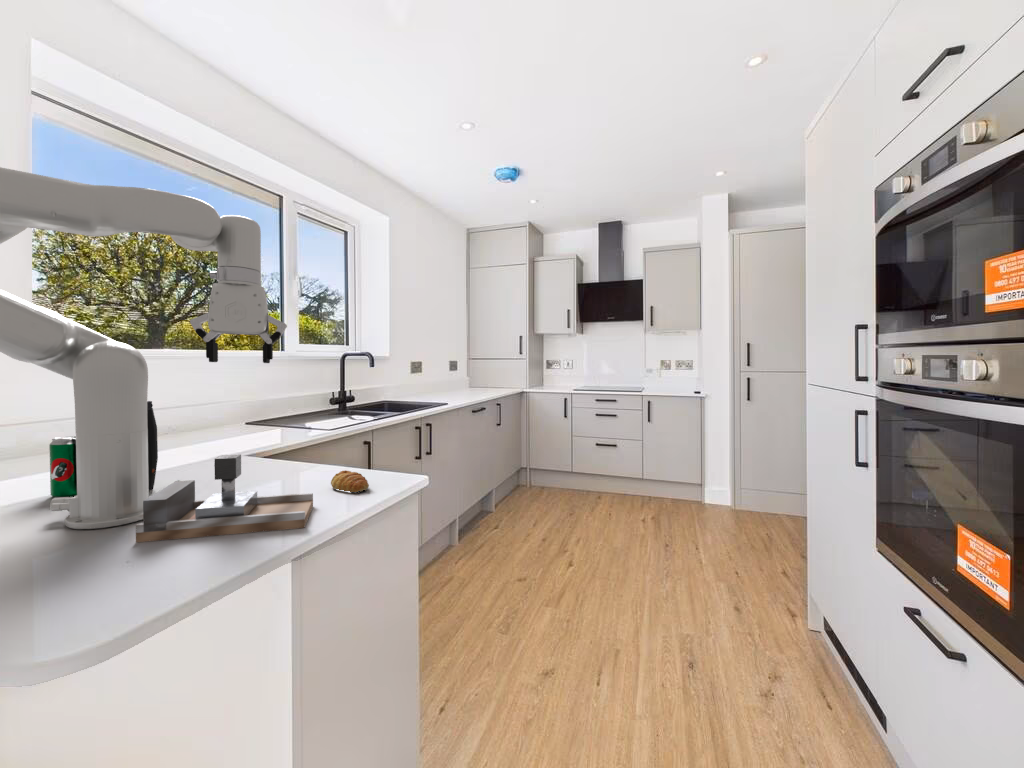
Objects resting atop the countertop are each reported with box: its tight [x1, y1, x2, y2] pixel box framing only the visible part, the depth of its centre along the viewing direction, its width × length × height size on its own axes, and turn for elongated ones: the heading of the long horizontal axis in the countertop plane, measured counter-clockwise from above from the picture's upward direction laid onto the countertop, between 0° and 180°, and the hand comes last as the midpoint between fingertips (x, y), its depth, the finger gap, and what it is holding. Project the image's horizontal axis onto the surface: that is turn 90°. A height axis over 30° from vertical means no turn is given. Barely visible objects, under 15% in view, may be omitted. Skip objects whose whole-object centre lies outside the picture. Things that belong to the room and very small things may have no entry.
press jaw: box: [195, 454, 258, 519], centre depth 77 cm, size 7×9×10 cm
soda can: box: [48, 435, 77, 498], centre depth 91 cm, size 5×5×12 cm
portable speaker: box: [147, 400, 159, 491], centre depth 93 cm, size 9×9×20 cm
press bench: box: [135, 479, 314, 543], centre depth 78 cm, size 24×12×6 cm, turn 108°
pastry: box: [330, 470, 370, 493], centre depth 100 cm, size 9×7×4 cm
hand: (240, 362), depth 91 cm, fingers open, 9 cm apart
